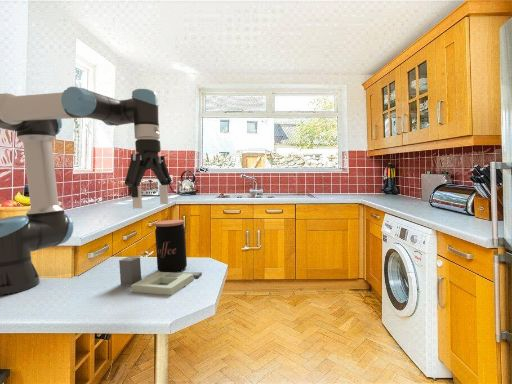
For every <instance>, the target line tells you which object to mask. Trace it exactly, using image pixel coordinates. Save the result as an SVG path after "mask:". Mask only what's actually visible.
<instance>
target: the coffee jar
mask: <svg viewBox="0 0 512 384" xmlns="http://www.w3.org/2000/svg"><path fill="white" fill-rule="evenodd" d="M154 226H155V231H154V232H155V233H154V234H155V249H156V250H155V251H156V253H155V254H156V264H157V267H156V268H157V270H158V272H159V271H160V272H174V273H181V272H182V270H183V271H184V270H186V268H187V267H188V261H187V259H188V257H187V246H186V245H187V243H186V228H185V220H184V219H168V220H160V221H156V222H155V223H154Z"/></svg>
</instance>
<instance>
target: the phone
mask: <svg viewBox="0 0 512 384" xmlns="http://www.w3.org/2000/svg"><path fill="white" fill-rule="evenodd" d="M181 273H188V274H194V279H199V278H200V277H201V276H202V274H203V272H200V271H198V272H194V271H193V272H192V271H191V272H190V271H189V272H187V271H186V272H185V271H184V272H182V271H181Z"/></svg>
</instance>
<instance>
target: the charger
mask: <svg viewBox="0 0 512 384" xmlns="http://www.w3.org/2000/svg"><path fill="white" fill-rule="evenodd" d="M118 262H119V263H118V264H119V275H120V276H119V277H120V285H121V286H123V285H124V286H131V285H132V284H134V283H136V282H138V281H140V280H142V270H141V269H142V267H141V257H140V256H127V257H125V258H122V259H120V260H118Z"/></svg>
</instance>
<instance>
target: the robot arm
mask: <svg viewBox="0 0 512 384" xmlns="http://www.w3.org/2000/svg"><path fill="white" fill-rule="evenodd" d="M158 103H159V101H158V95H157V93H156V92H155V91H153V90H152V89H149V88H137V89H134V90H132V92H131V98H129V99H122V100H121V99H120V100H119V99H117V98H113V97H110V96H107V95H103V94H100V93H97V92H95V91H92V90H89V89H87V88H85V87H79V86H78V87H77V86H68V87H67V89H65V90H64V91H63V92H52V93H51V92H50V93H38V94H25V95H15V94H12V93H8V92H7V93H0V129H2V130H6V131H11V132H12V131H13V132H16V137H17V140H19V141H20V142H22V145H23V152H24V161H25V162H24V163H25V168H26V170H25V171H26V177H27V178H26V179H27V180H26V181H27V187H28V189H27V190H28V195H29V205H30V208H29V210H27V212H26V213H25V215H14V216H7V217H2V218H0V295H2V296H4V295H3V294H8V295H11V294H10V293H12V294H16V293H15V292H17V293H20V292H23V291H25V290H29V289H32V288H34V287H36V286H37V285H39V284H40V275H39V274H38V271H37V270H36V267H35V266H34V264H33V262H32V253H31V252H36V251H39V250H42V249H48V248H51V247H52V248H53V247H57V246H59V245H63V244H65V243H66V242H68V241H69V240H70V238H71V237H72V235H73V233H74V222H73V220H72V218H71V217H70V215H68V214H66V213H65V208H63V207H61V206H60V204H59V196H58V195H59V194H58V188H57V187H58V186H57V185H58V184H57V179H56V178H57V176H56V169H55V161H54V150H53V142H54V141H55V140H56V139H57V135H58V134H60V132H61V129H62V127H63V122H62V120H65V119H93V120H98V121H101V122H103V123H104V124H106V125H107V126H116V127H117V126H121V125H128V124H133V129H134V130H133V131H134V139H135V142H134V143H135V144H134V145H135V152H136V153H131V155H130V163H129V166H128V170H127V173H126V177H125V180H124V184H125V185H126V187H128V188H130V195H131V196H130V197H131V198H132V209H143V201H142V199H143V197H142V186H139V185H140V183H141V182H142V180H143V177H144V176H145V173H146V171H147V170H151V171H152V172H153V173H154V176H155V177H156V178H157V180H158V182H159V184H160V185H159V186H158V187H159V188H158V189H159V204H160V205H168V204H169V194H168V193H169V189H168V188H169V186H168V185H171V184H172V179H171V175H170V172H169V169H168V167H167V164H166V161H165V156H164V155H159V153H160V152H161V151H162V150H161V148H162V147H161V140H159V139H160V138H161V136H160V135H161V134H160V124H159V122H160V121H159V104H158Z"/></svg>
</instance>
